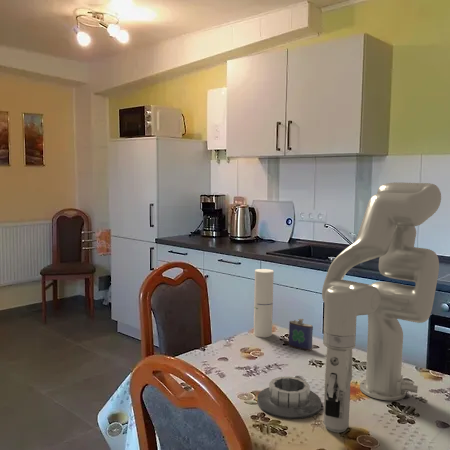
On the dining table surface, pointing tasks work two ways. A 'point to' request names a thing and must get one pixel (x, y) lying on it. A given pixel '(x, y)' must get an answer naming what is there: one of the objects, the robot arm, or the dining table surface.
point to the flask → (300, 335)
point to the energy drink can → (343, 420)
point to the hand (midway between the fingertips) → (336, 407)
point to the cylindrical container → (263, 302)
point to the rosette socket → (289, 399)
